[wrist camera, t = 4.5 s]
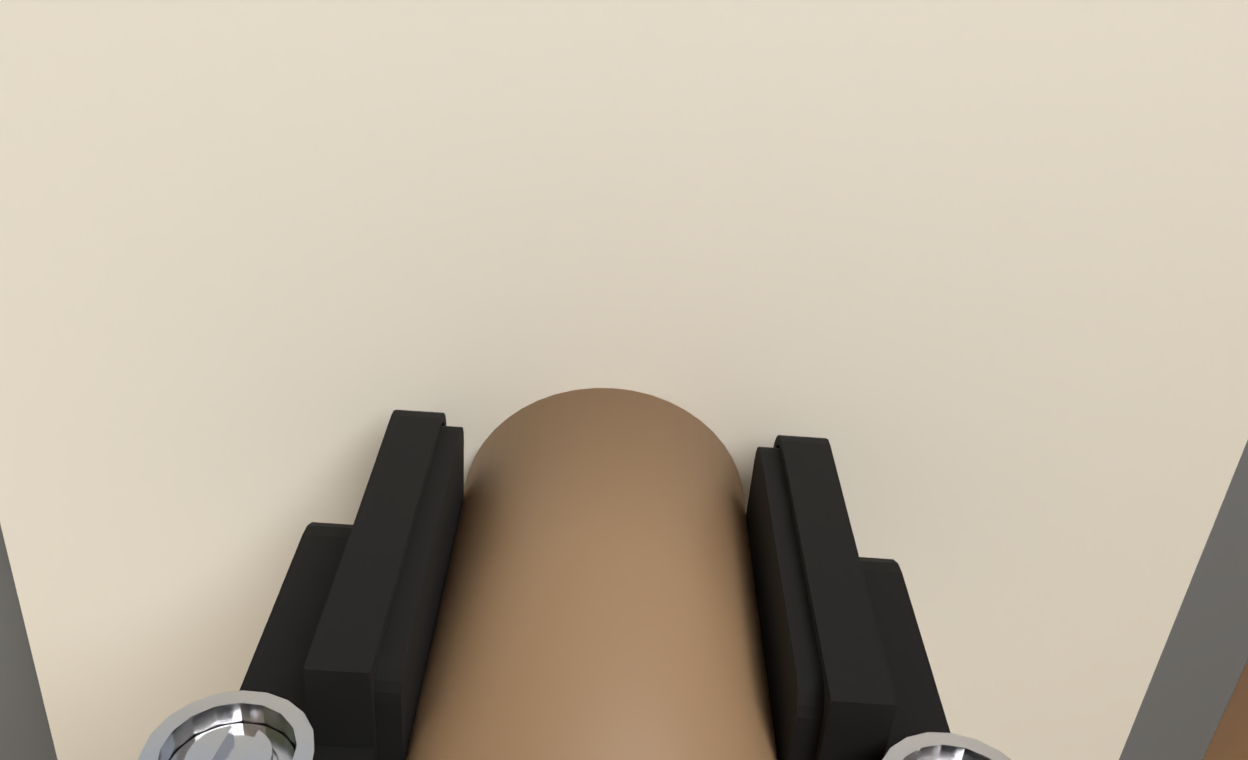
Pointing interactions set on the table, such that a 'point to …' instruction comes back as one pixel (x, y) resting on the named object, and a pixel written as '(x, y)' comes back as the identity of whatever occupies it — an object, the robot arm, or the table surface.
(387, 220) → the lid
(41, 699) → the mat
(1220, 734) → the table surface
